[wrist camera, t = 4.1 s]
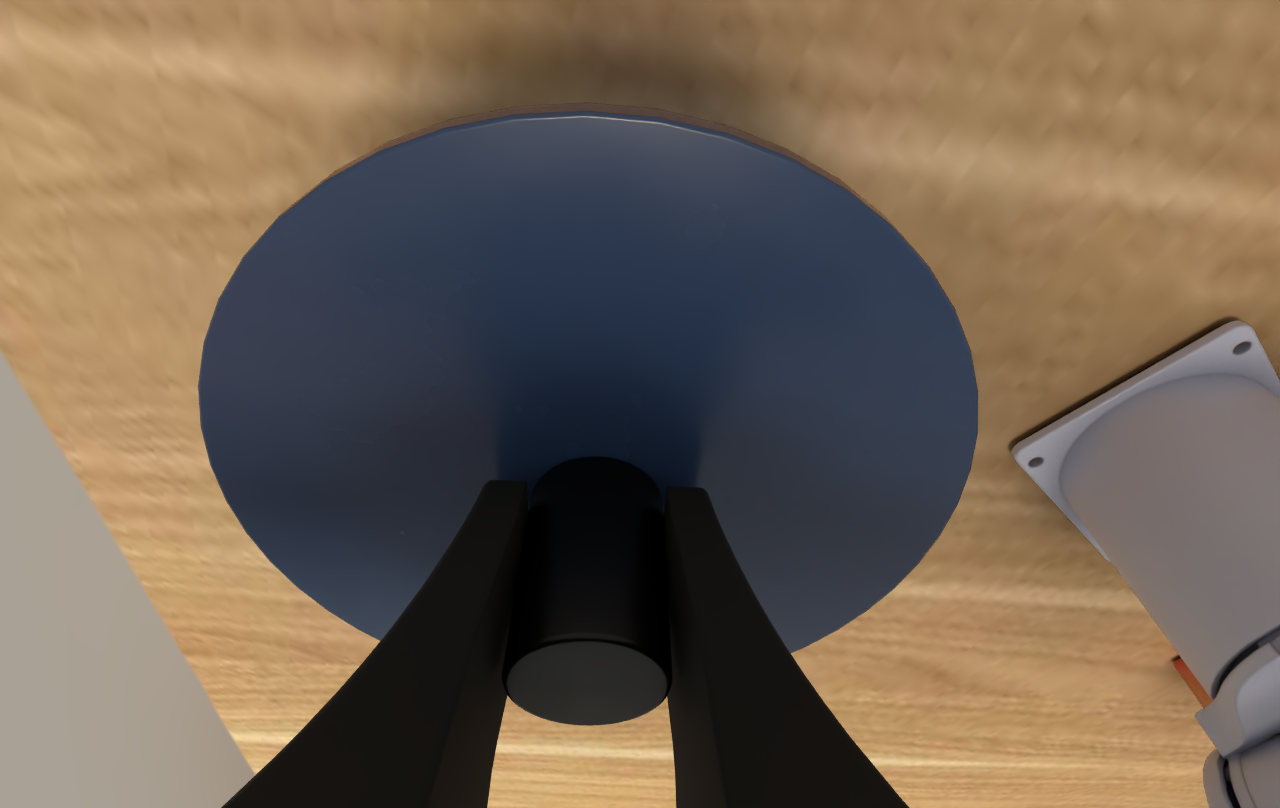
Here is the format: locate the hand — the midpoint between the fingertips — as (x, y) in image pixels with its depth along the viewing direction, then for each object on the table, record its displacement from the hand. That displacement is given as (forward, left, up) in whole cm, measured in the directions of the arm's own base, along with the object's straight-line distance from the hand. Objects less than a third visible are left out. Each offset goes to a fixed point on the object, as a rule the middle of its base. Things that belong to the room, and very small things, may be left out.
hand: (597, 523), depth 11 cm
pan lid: (0, 0, -1) cm, 1 cm away
